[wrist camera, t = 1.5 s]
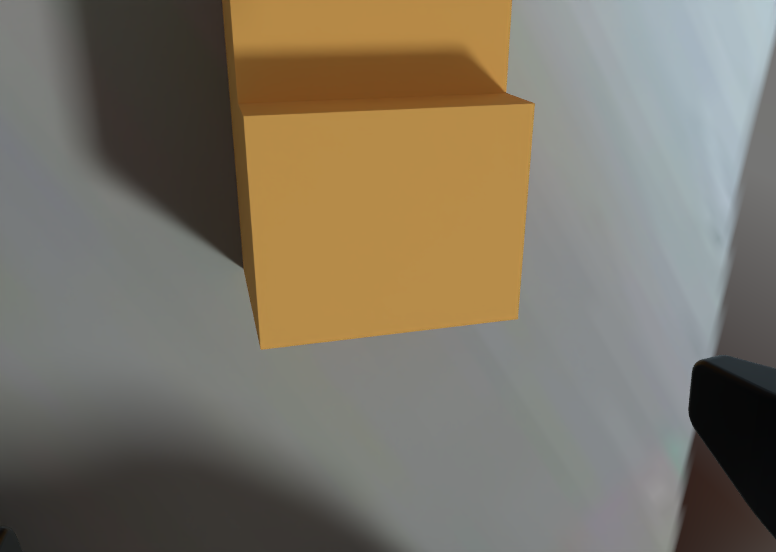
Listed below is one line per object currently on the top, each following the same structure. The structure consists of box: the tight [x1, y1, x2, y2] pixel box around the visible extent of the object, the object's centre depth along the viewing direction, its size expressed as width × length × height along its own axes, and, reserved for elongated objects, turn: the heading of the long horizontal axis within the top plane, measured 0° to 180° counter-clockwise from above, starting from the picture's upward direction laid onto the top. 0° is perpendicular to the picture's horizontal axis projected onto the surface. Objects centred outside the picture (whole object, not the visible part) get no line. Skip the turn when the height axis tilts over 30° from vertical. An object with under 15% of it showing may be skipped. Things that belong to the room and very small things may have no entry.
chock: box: [222, 0, 535, 350], centre depth 17 cm, size 8×6×5 cm
